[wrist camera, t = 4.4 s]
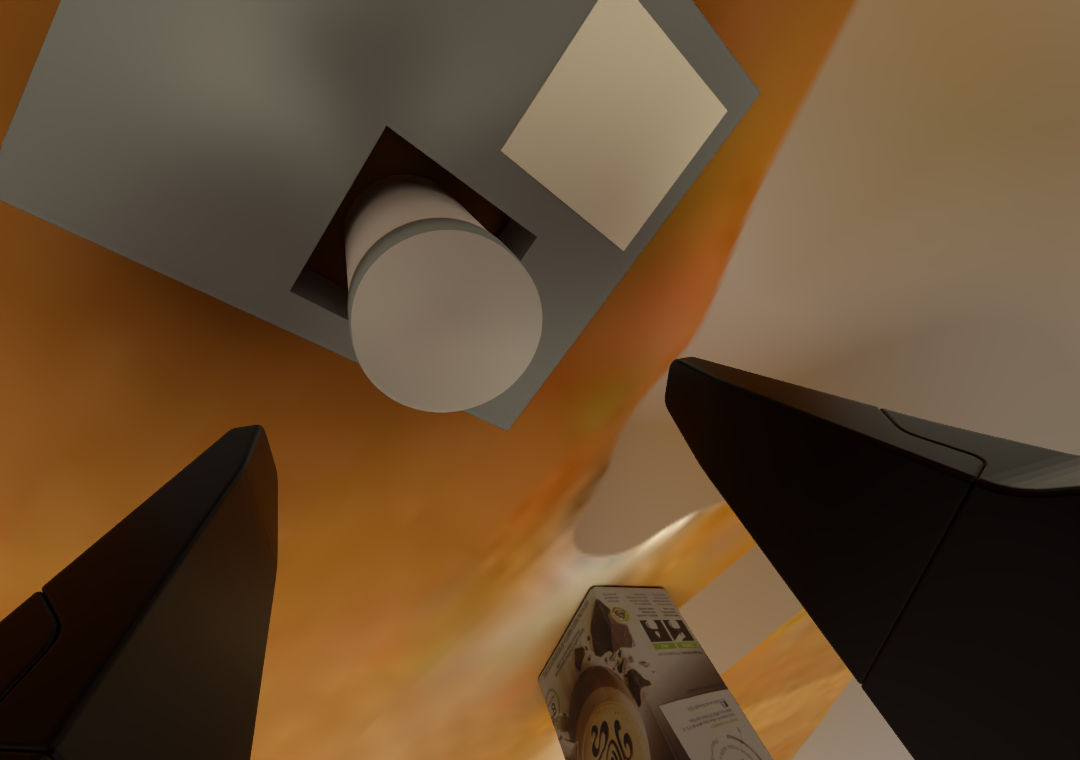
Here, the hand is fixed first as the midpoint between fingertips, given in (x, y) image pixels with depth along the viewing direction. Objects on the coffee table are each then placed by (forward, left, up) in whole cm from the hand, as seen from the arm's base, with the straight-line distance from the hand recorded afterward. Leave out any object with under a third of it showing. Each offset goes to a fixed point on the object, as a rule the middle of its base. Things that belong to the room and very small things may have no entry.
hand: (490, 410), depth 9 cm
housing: (-4, -1, -12) cm, 13 cm away
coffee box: (+16, +25, -12) cm, 32 cm away
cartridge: (0, 0, -12) cm, 12 cm away
